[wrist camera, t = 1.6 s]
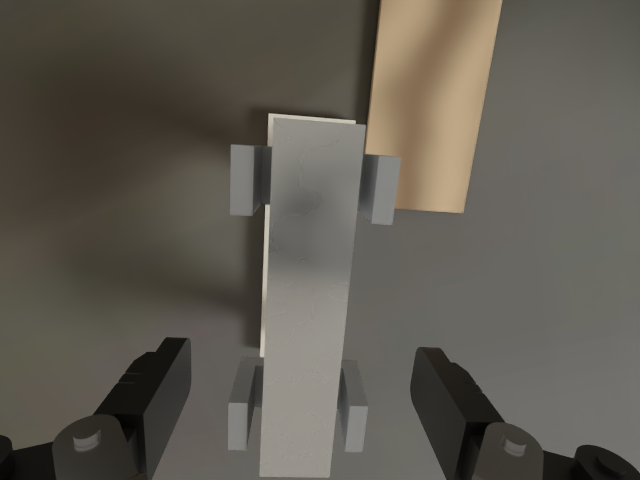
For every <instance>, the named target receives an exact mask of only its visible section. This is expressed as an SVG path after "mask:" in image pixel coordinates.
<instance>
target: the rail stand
mask: <svg viewBox="0 0 640 480" xmlns="http://www.w3.org/2000/svg"><path fill="white" fill-rule="evenodd" d="M273 117H276V118H288V119H300V120H312V121H324V122H336V123H348V124H355V123H356V121H354V120H342V119H330V118H318V117H306V116H294V115H283V114H271V113H269V118H268V146H258V145H239V144H231V186H230V215H243V216H253V214H254V213H255V211H256V210H257V209H258V207H259V206H260V204H265V232H264V260H263V289H262V317H261V346H260V357H243V356H242V357H241V361H240V364H239V368H238V371H237V375H236V378H235V382H234V385H233V389H232V393H231V396H230V400H229V416H228V450H246V449H247V444H248V438H249V433H250V427H251V422H252V416H253V411H254V407H262V400H263V374H264V348H265V322H266V296H267V270H268V244H269V218H270V192H271V166H272V140H273ZM400 162H401V157H393V156H385V155H374V154H363V159H362V169H361V178H360V188H359V198H358V207H357V211H361V213H362V214H363V215H364V216H365V217H366V218H367V219H368V220H369V222H370V223H371V224H386V225H392V223H393V215H394V207H395V200H396V192H397V185H398V177H399V170H400ZM337 409H339V414H340V421H341V428H342V435H343V442H344V449H345V452H362V450H363V442H364V435H365V427H366V419H367V412H368V404H367V400H366V396H365V392H364V388H363V384H362V380H361V376H360V372H359V368H358V364H357V361H355V360H342V361H341V370H340V380H339V389H338V399H337Z"/></svg>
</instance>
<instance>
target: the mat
mask: <svg viewBox="0 0 640 480" xmlns="http://www.w3.org/2000/svg"><path fill="white" fill-rule="evenodd" d="M501 5H502V0H380V7H379V17H378V26H377V36H376V45H375V55H374V64H373V74H372V83H371V93H370V102H369V112H368V121H367V131H366V140H365V150H364V154H374V155H385V156H393V157H401V162H400V170H399V177H398V185H397V192H396V200H395V207H394V208H395V209H410V210H425V211H440V212H455V213H463V211H464V206H465V200H466V195H467V189H468V184H469V179H470V173H471V168H472V162H473V157H474V151H475V146H476V141H477V135H478V130H479V124H480V119H481V113H482V108H483V103H484V97H485V92H486V86H487V81H488V75H489V70H490V65H491V59H492V54H493V48H494V43H495V37H496V32H497V27H498V21H499V16H500V10H501Z"/></svg>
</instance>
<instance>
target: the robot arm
mask: <svg viewBox="0 0 640 480" xmlns="http://www.w3.org/2000/svg"><path fill="white" fill-rule="evenodd" d="M190 386H191V342H190V339H189V338H172V337H167V338H165V339H164V341H163V342H162V343H161V345H160V346H159V348H158V349H157V351H156V352H146V353H145V354H143V355H142V356H140V357H139V358H137V359H136V360H134V361H133V363H132V364H131V365H130V367H129V368H128V369H127V371H126V372H125V374H123V376H122V377H121V378H120V380H119V382H118V383H117V384H116V385H115V386H114V388H113V389H112V390H111V392H110V393H109V394H108V395H107V397H106V398H105V399H104V401H103V402H102V403H101V405H100V406H99V407H98V409H97V410H96V411H95V413H94V414H93V415H92V416H88V417H85V418H82V419H80V420H77V421H75V422H73V423H72V424H70V425H69V426H67V427H66V428H64V429H63V430H62V431H61V432H60V433H59V434H58V435H57V437H56V438H55V440H54V441H53V442H50V443H46V444H41V445H37V446H32V447H28V448H23V449H19V450H14V451H13V448H12V442H11V440H10V439H9V438H8V437H5V436H2V435H0V480H151V479H152V477H153V475H154V473H155V470H156V468H157V466H158V464H159V461H160V459H161V457H162V454H163V452H164V450H165V448H166V445H167V443H168V441H169V438H170V436H171V434H172V432H173V429H174V427H175V425H176V423H177V420H178V418H179V416H180V413H181V411H182V409H183V407H184V404H185V402H186V400H187V397H188V395H189V391H190ZM410 392H411V399H412V402H413V405H414V407H415V409H416V412H417V414H418V416H419V418H420V421H421V423H422V425H423V428H424V430H425V432H426V434H427V437H428V439H429V441H430V443H431V446H432V448H433V450H434V452H435V455H436V457H437V459H438V461H439V464H440V466H441V468H442V470H443V473H444V475H445V477H446V479H447V480H640V473H639V472H638V471H637V470H636V469H635V468H634V467H633V466H632V465H631V464H630V463H629V462H627V461H626V460H624V459H623V458H622V457H620V456H618V455H617V454H615V453H613V452H611V451H609V450H606V449H604V448H601V447H598V446H594V445H582V446H580V447H578V448H577V450H576V453H575V456H574V459H573V458H570V457H566V456H562V455H558V454H555V453H551V452H547V451H544V450H542V448H541V446H540V444H539V443H538V442H537V441H536V440H535V438H534V437H532V436H531V435H530V434H529V433H527V432H526V431H524V430H523V429H521V428H519V427H517V426H514V425H512V424H508V423H505V421H504V420H503V419H502V417H501V416H500V414H499V413H498V412H497V410H496V409H495V408H494V406H493V405H492V404H491V402H490V401H489V400H488V398H487V397H486V396H485V394H483V393H482V390H481V389H480V388H479V386H478V385H476V382H475V381H474V380H473V378H472V377H471V376H470V374H469V373H468V372H467V371H466V370H464V369H463V368H462V367H460V366H459V365H458V364H456V363H451V362H450V361H449V359H448V358H447V357H446V355H445V354H444V352H443V351H442V350H441V349H440V348H429V347H419V348H418V349H417V351H416V355H415V361H414V367H413V373H412V379H411V385H410Z"/></svg>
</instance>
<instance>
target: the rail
mask: <svg viewBox="0 0 640 480" xmlns="http://www.w3.org/2000/svg"><path fill="white" fill-rule="evenodd" d="M365 130H366V125H360V124H348V123H336V122H324V121H312V120H300V119H288V118H276V117H273V140H272V166H271V192H270V218H269V244H268V270H267V296H266V322H265V348H264V374H263V400H262V426H261V452H260V477H329V476H330V466H331V457H332V447H333V437H334V428H335V418H336V409H337V399H338V389H339V380H340V370H341V361H342V351H343V341H344V332H345V322H346V313H347V303H348V293H349V284H350V274H351V265H352V255H353V245H354V236H355V226H356V217H357V207H358V198H359V188H360V178H361V169H362V159H363V150H364V140H365Z"/></svg>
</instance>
